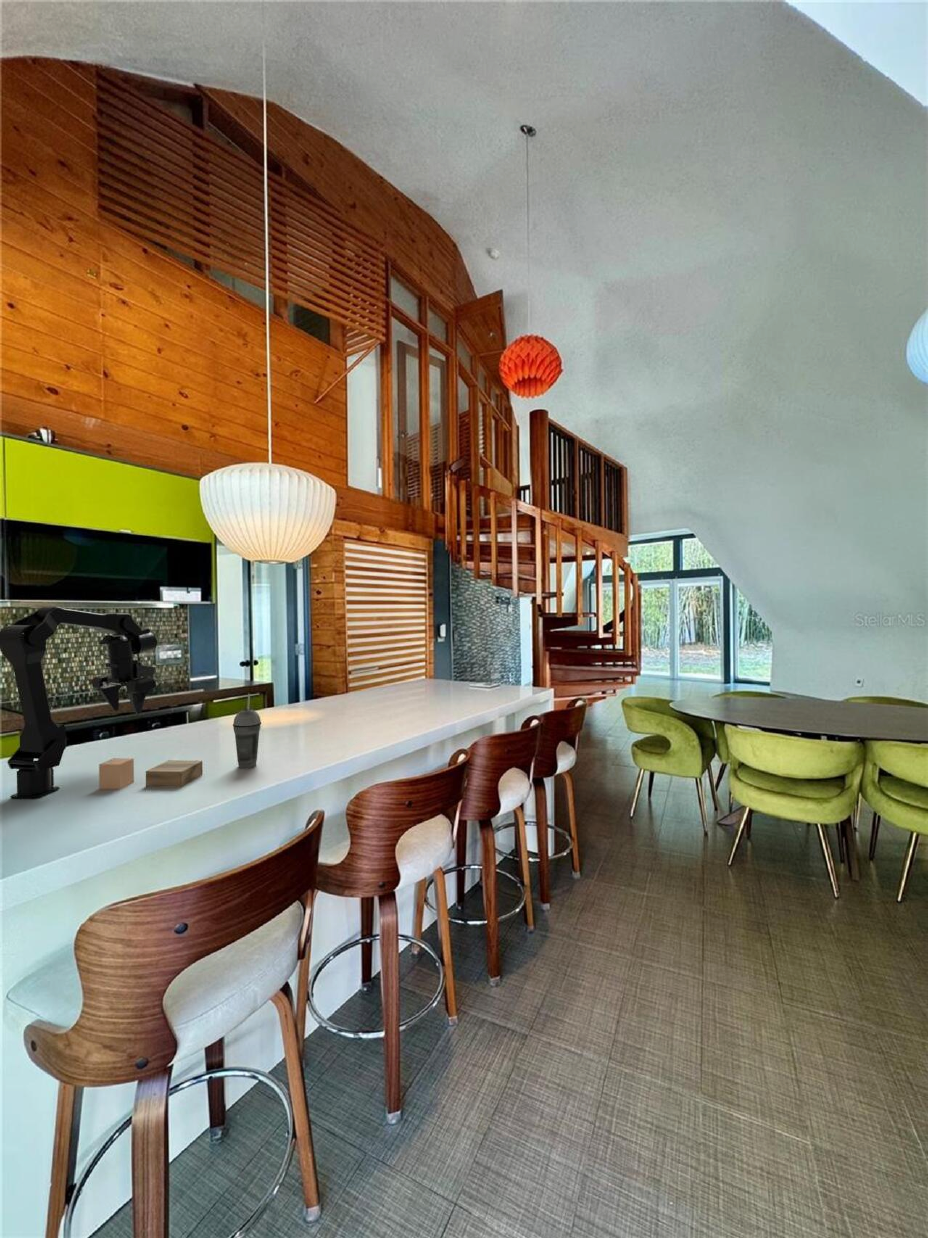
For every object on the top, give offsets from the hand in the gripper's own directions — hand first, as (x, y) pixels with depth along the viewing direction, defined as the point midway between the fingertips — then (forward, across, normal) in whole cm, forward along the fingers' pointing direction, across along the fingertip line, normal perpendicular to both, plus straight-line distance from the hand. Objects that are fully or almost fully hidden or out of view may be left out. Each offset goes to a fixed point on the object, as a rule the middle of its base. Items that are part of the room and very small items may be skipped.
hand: (127, 712), depth 144 cm
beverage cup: (+14, -35, -8) cm, 38 cm away
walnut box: (+13, -27, +8) cm, 31 cm away
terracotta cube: (+12, -17, +16) cm, 26 cm away
